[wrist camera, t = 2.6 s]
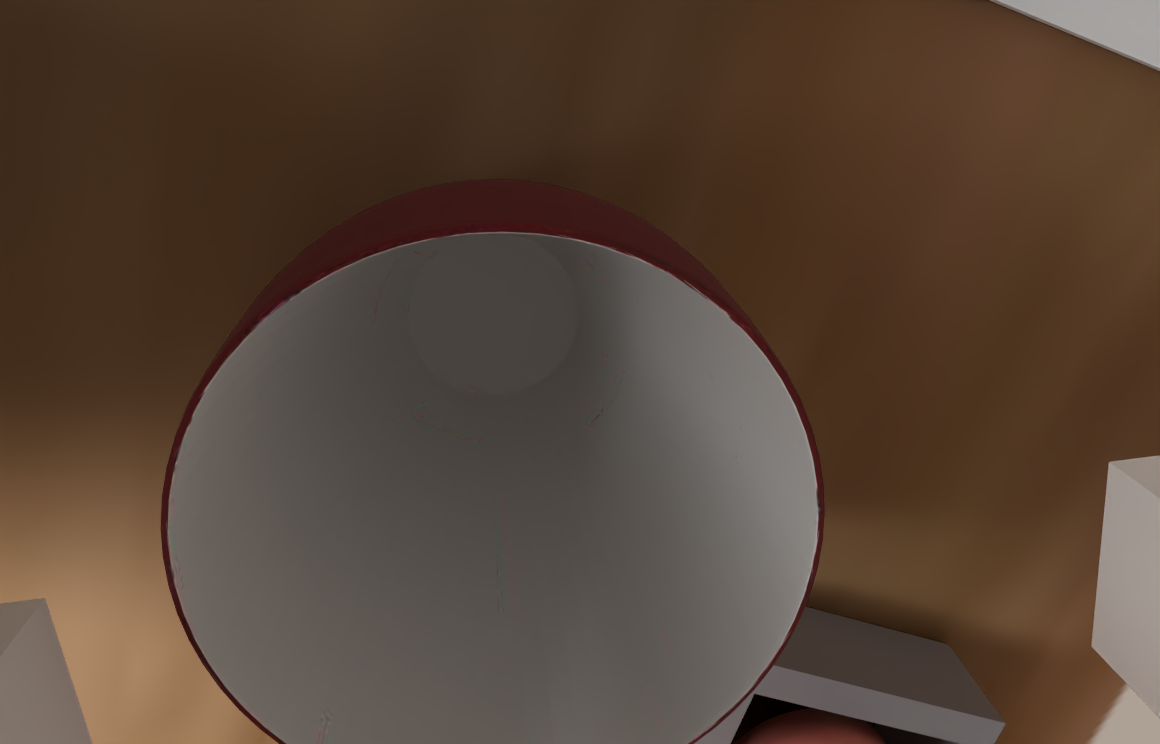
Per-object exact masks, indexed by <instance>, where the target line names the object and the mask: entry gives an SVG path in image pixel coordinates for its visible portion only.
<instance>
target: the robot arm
mask: <svg viewBox="0 0 1160 744" xmlns="http://www.w3.org/2000/svg"><path fill="white" fill-rule="evenodd" d="M1091 647H1092V648H1093V649H1094V650H1095V651H1096V652H1097V653H1098V654H1099V655H1100V656H1101V657H1102V658H1103V659H1104V660H1105V661H1106V662H1107V663H1108V664H1109V665H1110V666H1111V668H1112V669H1113V670H1114V671H1115V672H1116V673H1117V674H1118V675H1119V676H1120V677H1121V678H1122V679H1123V680H1124V681H1125V682H1126V683H1127V684H1128V685H1129V686H1130V687H1131V689H1132V690H1133V691H1134V692H1135V693H1136V694H1137V695H1138V696H1139V697H1140V698H1141V699H1142V700H1143V701H1144V702H1145V703H1146V704H1147V705H1148V706H1149V707H1150V708H1151V709H1152V711H1153V712H1154V713H1156V715H1157V716H1158V717H1159V718H1160V455H1159V456H1151V457H1143V458H1135V459H1127V460H1120V461H1112V462H1109V466H1108V477H1107V487H1106V498H1105V509H1104V519H1103V530H1102V540H1101V551H1100V561H1099V572H1098V582H1097V593H1096V603H1095V614H1094V624H1093V635H1092V645H1091ZM0 744H92V741H91V738H90V735H89V732H88V729H87V726H86V723H85V720H84V717H83V714H82V710H81V707H80V704H79V701H78V698H77V695H76V692H75V689H74V686H73V683H72V680H71V677H70V674H69V671H68V668H67V665H66V662H65V658H64V655H63V652H62V649H61V646H60V643H59V640H58V637H57V634H56V631H55V628H54V625H53V622H52V619H51V616H50V613H49V610H48V606H47V603H46V600H45V598H42V599H34V600H26V601H18V602H10V603H2V604H0Z"/></svg>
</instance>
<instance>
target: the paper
mask: <svg viewBox="0 0 1160 744" xmlns="http://www.w3.org/2000/svg"><path fill="white" fill-rule="evenodd" d="M990 1H992V2H994V3H997V4H999V5H1002V6H1004V7H1006V8H1009V9H1011V10H1014V11H1016V12H1018V13H1021V14H1023V15H1026V16H1028V17H1030V18H1033V19H1035V20H1038V21H1040V22H1042V23H1045V24H1047V25H1050V26H1052V27H1054V28H1057V29H1059V30H1062V31H1064V32H1066V33H1069V34H1071V35H1074V36H1076V37H1079V38H1081V39H1083V40H1086V41H1088V42H1091V43H1093V44H1095V45H1098V46H1100V47H1103V48H1105V49H1107V50H1110V51H1112V52H1115V53H1117V54H1119V55H1122V56H1124V57H1127V58H1129V59H1131V60H1134V61H1136V62H1139V63H1141V64H1143V65H1146V66H1148V67H1151V68H1153V69H1155V70H1158V71H1160V0H990Z"/></svg>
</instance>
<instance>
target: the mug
mask: <svg viewBox="0 0 1160 744" xmlns="http://www.w3.org/2000/svg"><path fill="white" fill-rule="evenodd" d="M823 527H824V487H823V479H822V472H821V465H820V459H819V454H818V450H817V446H816V443H815V439H814V435H813V431H812V428H811V425H810V423H809V420H808V418H807V415H806V412H805V410H804V407H803V405H802V402H801V400H800V397H799V395H798V393H797V391H796V389H795V388H794V386H793V384H792V382H791V380H790V378H789V376H788V374H787V372H786V370H785V369H784V367H783V366H782V364H781V363H780V361H779V360H778V358H777V357H776V355H775V354H774V352H773V351H772V349H771V348H770V346H769V345H768V344H767V342H766V341H765V339H764V338H763V337H762V335H761V334H760V333H759V331H758V330H757V328H756V327H755V326H754V324H753V323H752V321H751V320H750V319H749V317H748V316H747V315H746V314H745V313H744V311H743V310H742V309H741V308H740V307H739V305H738V304H737V303H736V302H735V301H734V299H733V298H732V297H731V296H730V295H729V293H728V292H727V291H726V290H725V289H724V287H723V286H722V285H721V284H720V283H719V281H718V280H717V279H716V278H715V277H714V276H713V275H712V274H711V273H710V272H709V271H708V270H707V269H706V268H705V267H704V266H703V265H702V264H701V263H700V262H699V261H698V260H697V259H696V258H695V257H693V256H692V255H691V254H690V253H689V252H687V251H686V250H685V249H684V248H682V247H681V246H680V245H679V244H677V243H676V242H675V241H673V240H672V239H671V238H670V237H668V236H667V235H666V234H664V233H663V232H661V231H660V230H658V229H657V228H655V227H653V226H652V225H650V224H649V223H647V222H646V221H644V220H642V219H641V218H639V217H637V216H635V215H633V214H631V213H629V212H627V211H625V210H623V209H621V208H619V207H617V206H615V205H613V204H611V203H608V202H606V201H603V200H600V199H598V198H595V197H592V196H590V195H587V194H584V193H581V192H577V191H574V190H570V189H566V188H562V187H558V186H555V185H549V184H543V183H537V182H531V181H522V180H506V179H486V180H467V181H460V182H453V183H445V184H440V185H436V186H432V187H428V188H424V189H419V190H415V191H412V192H409V193H406V194H404V195H401V196H398V197H395V198H392V199H389V200H386V201H384V202H382V203H380V204H377V205H375V206H373V207H371V208H369V209H367V210H365V211H362V212H360V213H358V214H357V215H355V216H353V217H352V218H350V219H348V220H347V221H345V222H343V223H342V224H340V225H338V226H336V227H335V228H333V229H331V230H330V231H328V232H327V233H326V234H324V235H323V236H322V237H320V238H319V239H318V240H316V241H315V242H314V243H312V244H311V245H309V246H308V247H307V248H306V249H305V250H303V251H302V252H301V253H300V254H299V255H298V256H297V257H296V258H295V259H294V260H293V261H291V262H290V263H289V264H288V265H287V266H286V267H285V268H284V269H283V270H282V271H281V272H280V273H279V274H277V275H276V276H275V278H274V279H273V280H272V281H271V282H270V283H269V284H268V286H267V287H266V288H265V289H264V290H263V291H262V292H261V293H260V295H259V296H258V297H257V298H256V299H255V301H254V302H253V304H252V305H251V306H250V308H249V309H248V310H247V312H246V313H245V314H244V316H243V317H242V318H241V320H240V321H239V323H238V324H237V326H236V327H235V328H234V330H233V331H232V333H231V334H230V335H229V337H228V338H227V340H226V341H225V343H224V344H223V346H222V347H221V349H220V350H219V352H218V354H217V355H216V357H215V358H214V360H213V361H212V363H211V365H210V366H209V368H208V369H207V371H206V373H205V374H204V376H203V378H202V379H201V381H200V383H199V385H198V387H197V389H196V390H195V392H194V394H193V396H192V398H191V400H190V401H189V403H188V406H187V408H186V411H185V413H184V416H183V418H182V421H181V423H180V425H179V428H178V430H177V433H176V436H175V439H174V443H173V446H172V450H171V454H170V457H169V461H168V464H167V468H166V475H165V481H164V488H163V494H162V509H161V537H162V550H163V559H164V564H165V570H166V575H167V580H168V585H169V589H170V592H171V595H172V598H173V601H174V605H175V608H176V611H177V614H178V616H179V618H180V621H181V623H182V625H183V628H184V630H185V632H186V634H187V637H188V639H189V641H190V643H191V644H192V646H193V648H194V650H195V651H196V653H197V655H198V657H199V658H200V660H201V662H202V663H203V665H204V667H205V668H206V669H207V671H208V672H209V673H210V675H211V676H212V678H213V679H214V680H215V682H216V683H217V685H218V686H219V687H220V689H221V690H222V691H223V692H224V693H225V694H226V695H227V696H228V698H229V699H230V700H231V701H232V702H233V703H234V704H235V706H236V707H237V708H238V709H239V710H240V711H241V712H242V713H243V714H244V715H245V716H247V717H248V718H249V719H250V720H251V721H252V722H253V723H254V724H255V725H256V726H257V727H258V728H260V729H261V730H262V731H263V732H265V733H266V734H267V735H268V736H270V737H271V738H272V739H274V740H275V741H276V742H278V743H279V744H694V743H695V742H697V741H698V740H699V739H701V738H702V737H703V736H705V735H706V734H707V733H709V732H710V731H712V730H713V729H714V728H715V727H717V726H718V725H719V724H720V723H721V722H722V721H723V720H724V719H726V718H727V717H728V716H729V715H730V714H731V713H732V712H733V711H735V710H736V709H737V708H738V707H739V705H740V704H741V703H742V702H743V701H744V700H745V699H746V698H747V697H748V696H749V695H750V694H751V693H752V692H753V691H754V690H755V688H756V687H757V686H758V685H759V683H760V682H761V681H762V680H763V678H764V677H765V676H766V674H767V673H768V672H769V671H770V669H771V668H772V667H773V665H774V664H775V662H776V661H777V659H778V657H779V656H780V654H781V653H782V651H783V650H784V648H785V647H786V645H787V643H788V641H789V640H790V638H791V636H792V634H793V632H794V630H795V628H796V626H797V624H798V622H799V620H800V618H801V616H802V613H803V611H804V608H805V606H806V603H807V601H808V598H809V596H810V593H811V589H812V586H813V582H814V579H815V575H816V572H817V568H818V563H819V557H820V552H821V546H822V541H823Z"/></svg>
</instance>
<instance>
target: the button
mask: <svg viewBox="0 0 1160 744" xmlns="http://www.w3.org/2000/svg"><path fill="white" fill-rule="evenodd" d="M735 744H886V742H885V741H884V739H883V738H882V736H881V735H880V734H879V733H878V731H876V730H875V729H874V728H873V727H872V726H871V725H870V724H868V723H867V722H865V721H864V720H861V719H857V718H853V717H848V716H844V715H840V714H836V713H832V712H828V711H824V710H820V709H803V710H797V711H792V712H788V713H784V714H781V715H778V716H776V717H773V718H771V719H768V720H766V721H764V722H762V723H761V724H759V725H757V726H756V727H754V728H752V729H751V730H749V731H748V732H747V733H746V734H744V735H743V736H742V737H741V738H739V739H738V740H737V742H736V743H735Z"/></svg>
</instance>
